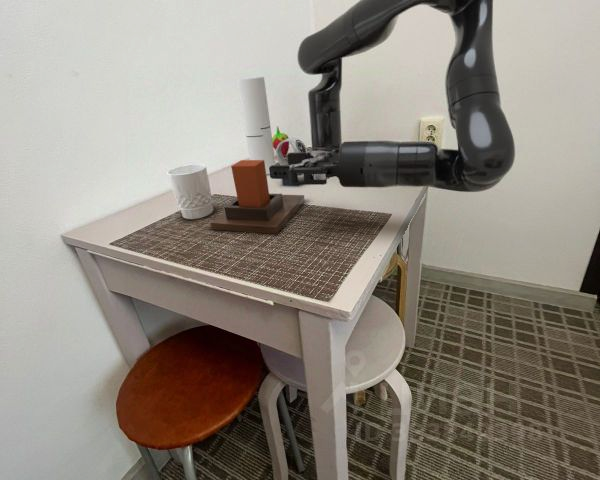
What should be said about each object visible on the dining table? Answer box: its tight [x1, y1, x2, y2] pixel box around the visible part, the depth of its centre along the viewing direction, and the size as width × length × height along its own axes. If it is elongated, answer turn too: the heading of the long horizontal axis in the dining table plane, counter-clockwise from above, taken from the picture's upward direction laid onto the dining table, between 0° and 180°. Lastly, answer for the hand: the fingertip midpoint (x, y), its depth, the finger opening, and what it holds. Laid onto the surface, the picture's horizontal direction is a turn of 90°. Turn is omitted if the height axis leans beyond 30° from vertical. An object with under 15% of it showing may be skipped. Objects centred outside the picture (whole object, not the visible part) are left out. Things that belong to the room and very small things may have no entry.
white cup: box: [166, 163, 214, 220], centre depth 70 cm, size 8×8×10 cm
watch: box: [275, 137, 308, 187], centre depth 83 cm, size 6×8×11 cm
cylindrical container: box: [236, 76, 276, 176], centre depth 92 cm, size 7×7×25 cm
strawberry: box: [272, 125, 290, 157], centre depth 109 cm, size 6×7×10 cm
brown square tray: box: [210, 192, 306, 235], centre depth 68 cm, size 16×14×4 cm
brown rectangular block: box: [231, 159, 270, 207], centre depth 64 cm, size 4×5×10 cm
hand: (279, 165), depth 59 cm, fingers open, 8 cm apart
